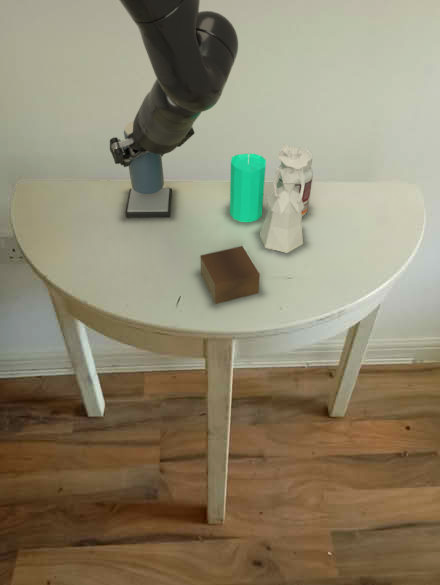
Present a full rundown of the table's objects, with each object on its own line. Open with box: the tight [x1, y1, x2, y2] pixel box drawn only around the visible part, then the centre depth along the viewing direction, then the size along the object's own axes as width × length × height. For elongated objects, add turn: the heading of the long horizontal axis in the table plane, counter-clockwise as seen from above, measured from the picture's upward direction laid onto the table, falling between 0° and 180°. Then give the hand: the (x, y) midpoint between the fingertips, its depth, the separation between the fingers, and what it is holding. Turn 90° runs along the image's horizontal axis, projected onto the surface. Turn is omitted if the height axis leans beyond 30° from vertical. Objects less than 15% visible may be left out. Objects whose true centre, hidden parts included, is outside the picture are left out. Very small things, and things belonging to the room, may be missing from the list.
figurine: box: [259, 143, 308, 254], centre depth 80 cm, size 7×8×18 cm
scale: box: [124, 187, 173, 219], centre depth 93 cm, size 8×8×1 cm
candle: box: [229, 152, 267, 223], centre depth 87 cm, size 6×6×12 cm
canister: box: [123, 120, 165, 194], centre depth 86 cm, size 6×6×11 cm
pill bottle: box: [277, 146, 314, 217], centre depth 88 cm, size 6×6×11 cm
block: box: [199, 245, 261, 305], centre depth 77 cm, size 7×7×4 cm
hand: (140, 156), depth 88 cm, fingers closed on canister, 6 cm apart
